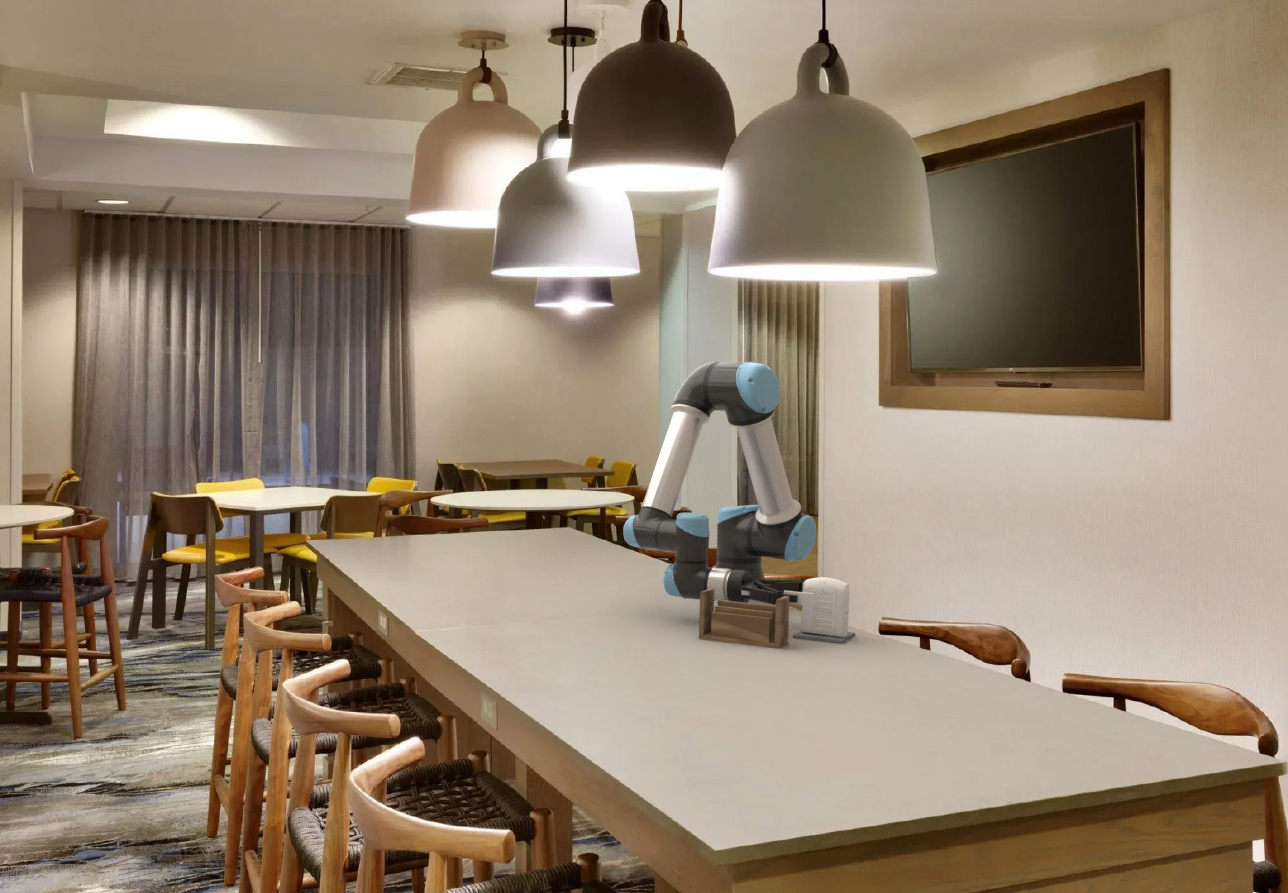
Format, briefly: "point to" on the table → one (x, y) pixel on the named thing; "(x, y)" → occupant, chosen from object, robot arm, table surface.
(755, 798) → the table surface
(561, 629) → the table surface
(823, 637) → the pad
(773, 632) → the offcut rack
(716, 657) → the table surface
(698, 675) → the table surface
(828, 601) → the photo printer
